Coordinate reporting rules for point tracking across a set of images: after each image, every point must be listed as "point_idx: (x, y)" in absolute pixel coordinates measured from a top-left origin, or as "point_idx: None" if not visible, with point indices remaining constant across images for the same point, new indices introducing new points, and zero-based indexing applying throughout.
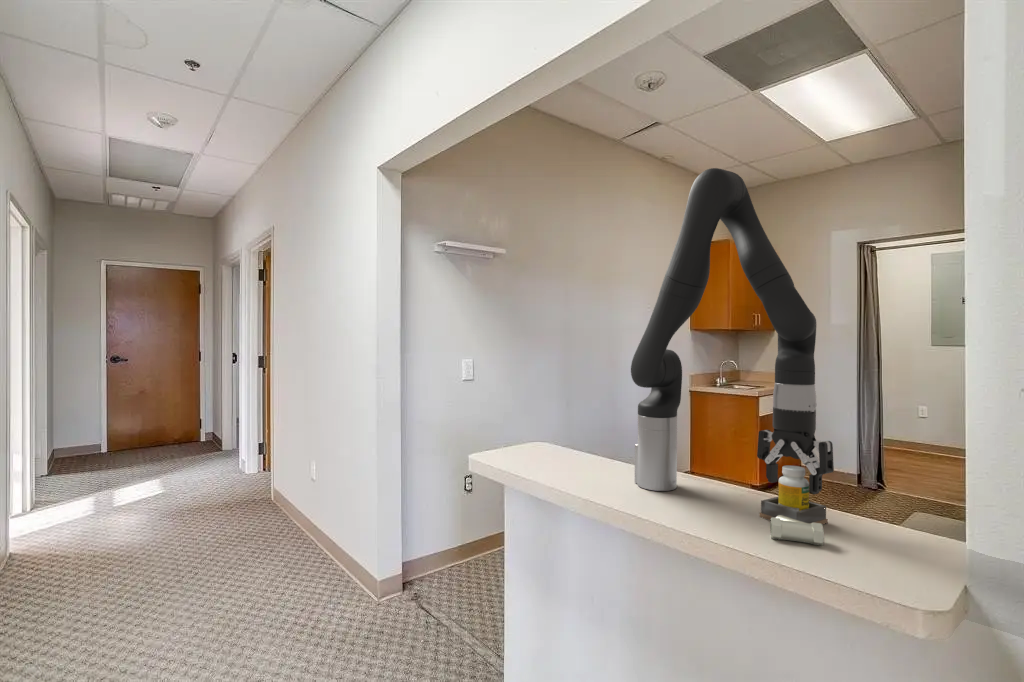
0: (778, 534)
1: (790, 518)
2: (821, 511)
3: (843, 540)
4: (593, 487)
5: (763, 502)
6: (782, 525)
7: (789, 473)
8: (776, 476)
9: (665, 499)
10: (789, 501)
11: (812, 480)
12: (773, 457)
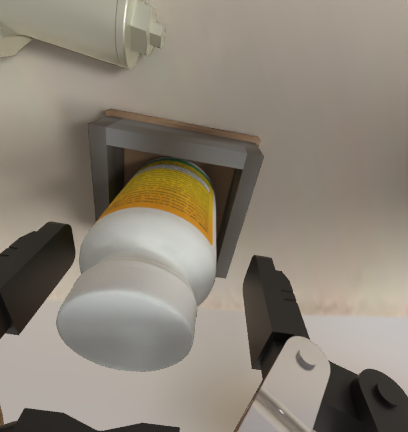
0: None
1: (61, 1)
2: None
3: (8, 131)
4: None
5: (252, 153)
6: None
7: (120, 268)
8: (246, 298)
9: None
10: (151, 176)
11: (5, 263)
12: (265, 395)
